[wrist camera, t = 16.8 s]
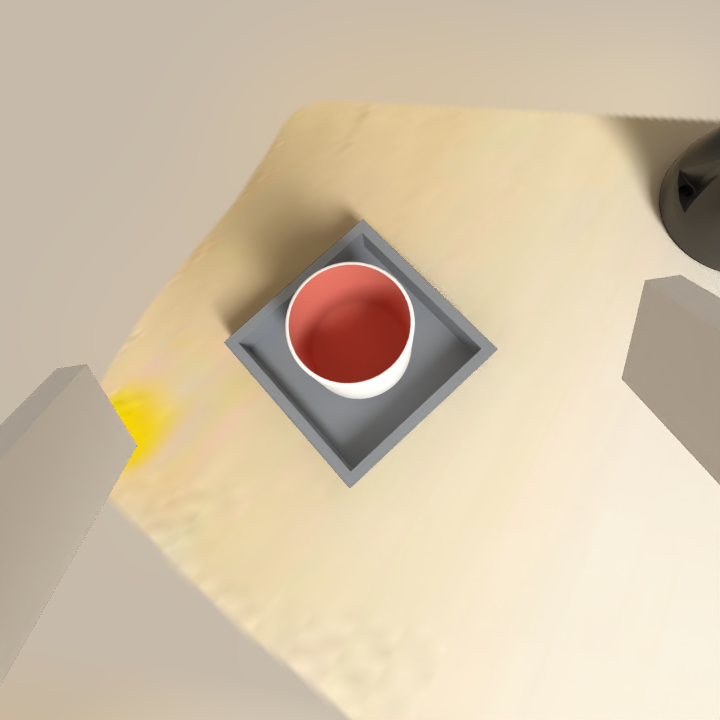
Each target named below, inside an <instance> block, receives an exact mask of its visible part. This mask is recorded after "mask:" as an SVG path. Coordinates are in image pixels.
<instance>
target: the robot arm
mask: <svg viewBox="0 0 720 720" xmlns="http://www.w3.org/2000/svg"><path fill="white" fill-rule="evenodd" d="M660 210H661V215H662V218H663V221H664V224H665V226H666V228H667V230H668V232H669V233H670V235H671V236H672V238H673V239H674V241H675V242H676V243H677V244H678V245H679V246H680V247H681V248H682V249H683V250H684V251H685V252H686V253H687V254H688V255H690V256H691V257H692V258H694V259H695V260H697V261H698V262H700V263H702V264H703V265H705V266H708V267H710V268H712V269H715V270H717V271H720V128H718V129H716V130H714V131H712V132H710V133H708V134H706V135H705V136H703V137H701V138H700V139H699V140H697V141H696V142H695V143H693V144H692V145H691V146H690V147H689V148H688V149H687V150H686V151H685V152H684V153H683V154H682V155H681V156H680V157H679V158H678V159H677V160H676V161H675V162H674V163H673V164H672V166H671V167H670V168H669V170H668V171H667V173H666V175H665V177H664V180H663V182H662V186H661V190H660ZM622 380H623V381H624V382H625V383H626V384H627V385H628V386H629V387H630V388H631V389H632V391H633V392H634V393H635V394H636V395H637V396H638V397H639V398H640V399H641V400H642V401H643V402H644V403H645V405H646V406H647V407H648V408H649V409H650V410H651V411H652V412H653V413H654V414H655V415H656V416H657V418H658V419H659V420H660V421H661V422H662V423H663V424H664V425H665V426H666V427H667V428H668V429H669V430H670V432H671V433H672V434H673V435H674V436H675V437H676V438H677V439H678V440H679V441H680V442H681V443H682V445H683V446H684V447H685V448H686V449H687V450H688V451H689V452H690V453H691V454H692V455H693V456H694V457H695V459H696V460H697V461H698V462H699V463H700V464H701V465H702V466H703V467H704V468H705V469H706V470H707V472H708V473H709V474H710V475H711V476H712V477H713V478H714V479H715V480H716V481H717V482H718V483H719V484H720V298H719V297H717V296H716V295H714V294H712V293H710V292H709V291H707V290H705V289H704V288H702V287H700V286H698V285H697V284H695V283H693V282H691V281H690V280H688V279H686V278H685V277H683V276H681V275H678V276H672V277H665V278H658V279H652V280H645V283H644V287H643V291H642V296H641V300H640V304H639V308H638V312H637V317H636V321H635V325H634V329H633V334H632V338H631V342H630V346H629V350H628V355H627V359H626V363H625V367H624V372H623V376H622ZM136 447H137V444H136V442H135V441H134V439H133V438H132V436H131V434H130V433H129V431H128V430H127V428H126V426H125V425H124V423H123V422H122V420H121V418H120V417H119V415H118V414H117V412H116V410H115V409H114V407H113V405H112V404H111V402H110V401H109V399H108V397H107V396H106V394H105V393H104V391H103V389H102V388H101V386H100V385H99V383H98V381H97V380H96V378H95V377H94V375H93V373H92V372H91V370H90V369H89V367H88V365H87V364H85V365H79V366H72V367H65V368H58V369H56V370H55V371H54V372H53V373H52V374H51V375H50V376H49V377H48V378H47V379H46V380H45V381H44V382H43V383H42V384H41V385H40V386H39V387H38V388H37V389H36V390H35V391H34V392H33V393H32V394H31V395H30V396H29V397H28V398H27V399H26V400H25V401H24V402H23V403H22V404H21V405H20V406H19V407H18V408H17V409H16V410H15V411H14V412H13V413H12V414H11V415H10V416H9V417H8V418H7V419H6V420H5V421H4V422H3V423H2V424H1V425H0V685H1V683H2V682H3V680H4V678H5V676H6V675H7V673H8V671H9V669H10V668H11V666H12V664H13V662H14V661H15V659H16V657H17V655H18V654H19V652H20V650H21V648H22V646H23V645H24V643H25V641H26V640H27V638H28V636H29V634H30V633H31V631H32V629H33V627H34V626H35V624H36V622H37V620H38V619H39V617H40V615H41V613H42V612H43V610H44V608H45V606H46V605H47V603H48V601H49V599H50V597H51V596H52V594H53V592H54V590H55V589H56V587H57V585H58V583H59V581H60V580H61V578H62V576H63V575H64V573H65V571H66V569H67V568H68V566H69V564H70V562H71V561H72V559H73V557H74V555H75V553H76V552H77V550H78V548H79V547H80V545H81V543H82V541H83V540H84V538H85V536H86V534H87V533H88V531H89V529H90V527H91V525H92V524H93V522H94V520H95V519H96V517H97V515H98V513H99V511H100V510H101V508H102V506H103V504H104V503H105V501H106V499H107V497H108V496H109V494H110V492H111V490H112V489H113V487H114V485H115V483H116V482H117V480H118V478H119V476H120V475H121V473H122V471H123V469H124V468H125V466H126V464H127V462H128V461H129V459H130V457H131V455H132V454H133V452H134V450H135V448H136Z"/></svg>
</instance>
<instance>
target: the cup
mask: <svg viewBox="0 0 720 720" xmlns="http://www.w3.org/2000/svg"><path fill="white" fill-rule="evenodd" d="M414 328H415V317H414V311H413V307H412V303H411V301H410V298H409V296H408V294H407V292H406V291H405V289H404V288H403V286H402V285H401V284H400V283H399V282H398V281H397V280H396V279H395V278H394V277H393V276H392V275H390V274H389V273H388V272H386V271H384V270H383V269H381V268H379V267H376V266H373V265H371V264H366V263H361V262H342V263H337V264H333V265H330V266H327V267H325V268H323V269H321V270H319V271H317V272H315V273H314V274H313V275H311V276H310V277H309V278H308V279H306V280H305V281H304V282H303V283H302V284H301V286H300V287H299V288H298V289H297V291H296V292H295V294H294V296H293V297H292V299H291V302H290V304H289V307H288V310H287V314H286V321H285V332H286V339H287V343H288V346H289V349H290V351H291V353H292V355H293V357H294V359H295V360H296V362H297V363H298V364H299V366H300V367H301V368H302V369H303V370H304V371H305V372H306V373H308V374H309V375H310V376H311V377H313V378H314V379H315V380H317V381H318V382H319V383H321V384H322V385H323V386H325V387H326V388H327V389H329V390H330V391H332V392H334V393H335V394H338V395H340V396H343V397H346V398H352V399H365V398H371V397H374V396H377V395H380V394H382V393H384V392H385V391H387V390H389V389H390V388H391V387H393V386H394V385H395V384H396V383H397V382H398V381H399V380H400V378H401V377H402V375H403V374H404V372H405V370H406V369H407V366H408V363H409V360H410V356H411V349H412V342H413V336H414Z"/></svg>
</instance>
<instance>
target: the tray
mask: <svg viewBox="0 0 720 720" xmlns="http://www.w3.org/2000/svg"><path fill="white" fill-rule="evenodd" d="M342 262H361V263H366V264H371V265H373V266H376V267H379V268H381V269H383V270H384V271H386V272H388V273H389V274H390V275H392V276H393V277H394V278H395V279H396V280H397V281H398V282H399V283H400V284H401V285H402V286H403V288H404V289H405V291H406V292H407V294H408V296H409V298H410V301H411V303H412V307H413V311H414V317H415V328H414V336H413V342H412V349H411V356H410V360H409V363H408V366H407V369H406V370H405V372H404V374H403V375H402V377H401V378H400V380H399V381H398V382H397V383H396V384H395V385H394V386H393V387H391V388H390V389H389V390H387V391H385V392H384V393H382V394H380V395H377V396H374V397H371V398H365V399H352V398H346V397H343V396H340V395H338V394H335V393H334V392H332V391H330V390H329V389H327V388H326V387H325V386H323V385H322V384H321V383H319V382H318V381H317V380H315V379H314V378H313V377H311V376H310V375H309V374H308V373H306V372H305V371H304V370H303V369H302V368H301V367H300V366H299V364H298V363H297V362H296V360H295V359H294V357H293V355H292V353H291V351H290V349H289V346H288V343H287V339H286V332H285V321H286V314H287V310H288V307H289V304H290V302H291V299H292V297H293V296H294V294H295V292H296V291H297V289H298V288H299V287H300V286H301V284H302V283H303V282H304V281H305V280H306V279H308V278H309V277H310V276H311V275H313V274H314V273H315V272H317V271H319V270H321V269H323V268H325V267H327V266H330V265H333V264H337V263H342ZM224 343H225V344H226V345H227V347H228V348H229V349H230V350H231V351H232V352H233V354H234V355H235V356H236V357H237V358H238V359H239V360H240V362H241V363H242V364H243V365H244V366H245V367H246V369H247V370H248V371H249V372H250V373H251V374H252V376H253V377H254V378H255V379H256V380H257V381H258V383H259V384H260V385H261V386H262V387H263V388H264V389H265V391H266V392H267V393H268V394H269V395H270V396H271V398H272V399H273V400H274V401H275V402H276V403H277V405H278V406H279V407H280V408H281V409H282V410H283V412H284V413H285V414H286V415H287V416H288V417H289V419H290V420H291V421H292V422H293V423H294V424H295V425H296V427H297V428H298V429H299V430H300V431H301V432H302V434H303V435H304V436H305V437H306V438H307V439H308V441H309V442H310V443H311V444H312V445H313V446H314V448H315V449H316V450H317V451H318V452H319V453H320V454H321V456H322V457H323V458H324V459H325V460H326V461H327V463H328V464H329V465H330V466H331V467H332V468H333V470H334V471H335V472H336V473H337V474H338V475H339V477H340V478H341V479H342V480H343V481H344V482H345V484H346V485H347V486H348V487H349V488H351V487H352V486H353V485H354V484H355V483H356V482H357V481H358V480H359V479H360V478H361V477H363V476H364V475H365V474H366V473H367V472H368V471H369V470H370V469H371V468H372V467H373V466H374V465H375V464H376V463H377V462H378V461H380V460H381V459H382V458H383V457H384V456H385V455H386V454H387V453H388V452H389V451H390V450H391V449H392V448H393V447H394V446H395V445H397V444H398V443H399V442H400V441H401V440H402V439H403V438H404V437H405V436H406V435H407V434H408V433H409V432H410V431H411V430H412V429H414V428H415V427H416V426H417V425H418V424H419V423H420V422H421V421H422V420H423V419H424V418H425V417H426V416H427V415H428V414H429V413H431V412H432V411H433V410H434V409H435V408H436V407H437V406H438V405H439V404H440V403H441V402H442V401H443V400H444V399H445V398H446V397H448V396H449V395H450V394H451V393H452V392H453V391H454V390H455V389H456V388H457V387H458V386H459V385H460V384H461V383H462V382H463V381H464V380H466V379H467V378H468V377H469V376H470V375H471V374H472V373H473V372H474V371H475V370H476V369H477V368H478V367H479V366H480V365H481V364H483V363H484V362H485V361H486V360H487V359H488V358H489V357H490V356H491V355H492V354H493V353H494V352H495V351H496V350H497V348H496V347H495V346H494V345H493V344H492V343H491V342H490V341H489V340H488V339H487V338H486V337H485V336H484V335H483V334H482V333H481V332H479V331H478V330H477V329H476V328H475V327H474V326H473V325H472V324H471V323H470V322H469V321H468V320H467V319H466V318H465V317H464V316H463V315H462V314H461V313H460V312H459V311H458V310H457V309H456V308H455V307H453V306H452V305H451V304H450V303H449V302H448V301H447V300H446V299H445V298H444V297H443V296H442V295H441V294H440V293H439V292H438V291H437V290H436V289H435V288H434V287H433V286H432V285H431V284H430V283H429V282H427V281H426V280H425V279H424V278H423V277H422V276H421V275H420V274H419V273H418V272H417V271H416V270H415V269H414V268H413V267H412V266H411V265H410V264H409V263H408V262H407V261H406V260H405V259H404V258H403V257H401V256H400V255H399V254H398V253H397V252H396V251H395V250H394V249H393V248H392V247H391V246H390V245H389V244H388V243H387V242H386V241H385V240H384V239H383V238H382V237H381V236H380V235H379V234H378V233H377V232H376V231H374V230H373V229H372V228H371V227H370V226H369V225H368V224H367V223H366V222H365V221H364V220H363V219H362V220H361V221H360V222H359V223H358V224H357V225H356V226H354V227H353V228H352V229H351V230H350V231H349V232H348V233H347V234H345V235H344V236H343V237H342V238H341V239H340V240H339V241H338V242H336V243H335V244H334V245H333V246H332V247H331V248H330V249H329V250H327V251H326V252H325V253H324V254H323V255H322V256H321V257H319V258H318V259H317V260H316V261H315V262H314V263H313V264H312V265H310V266H309V267H308V268H307V269H306V270H305V271H304V272H303V273H301V274H300V275H299V276H298V277H297V278H296V279H295V280H294V281H292V282H291V283H290V284H289V285H288V286H287V287H286V288H285V289H283V290H282V291H281V292H280V293H279V294H278V295H277V296H276V297H274V298H273V299H272V300H271V301H270V302H269V303H268V304H267V305H265V306H264V307H263V308H262V309H261V310H260V311H259V312H258V313H256V314H255V315H254V316H253V317H252V318H251V319H250V320H248V321H247V322H246V323H245V324H244V325H243V326H242V327H241V328H239V329H238V330H237V331H236V332H235V333H234V334H233V335H232V336H230V337H229V338H228V339H227V340H226V341H225V342H224Z"/></svg>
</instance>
